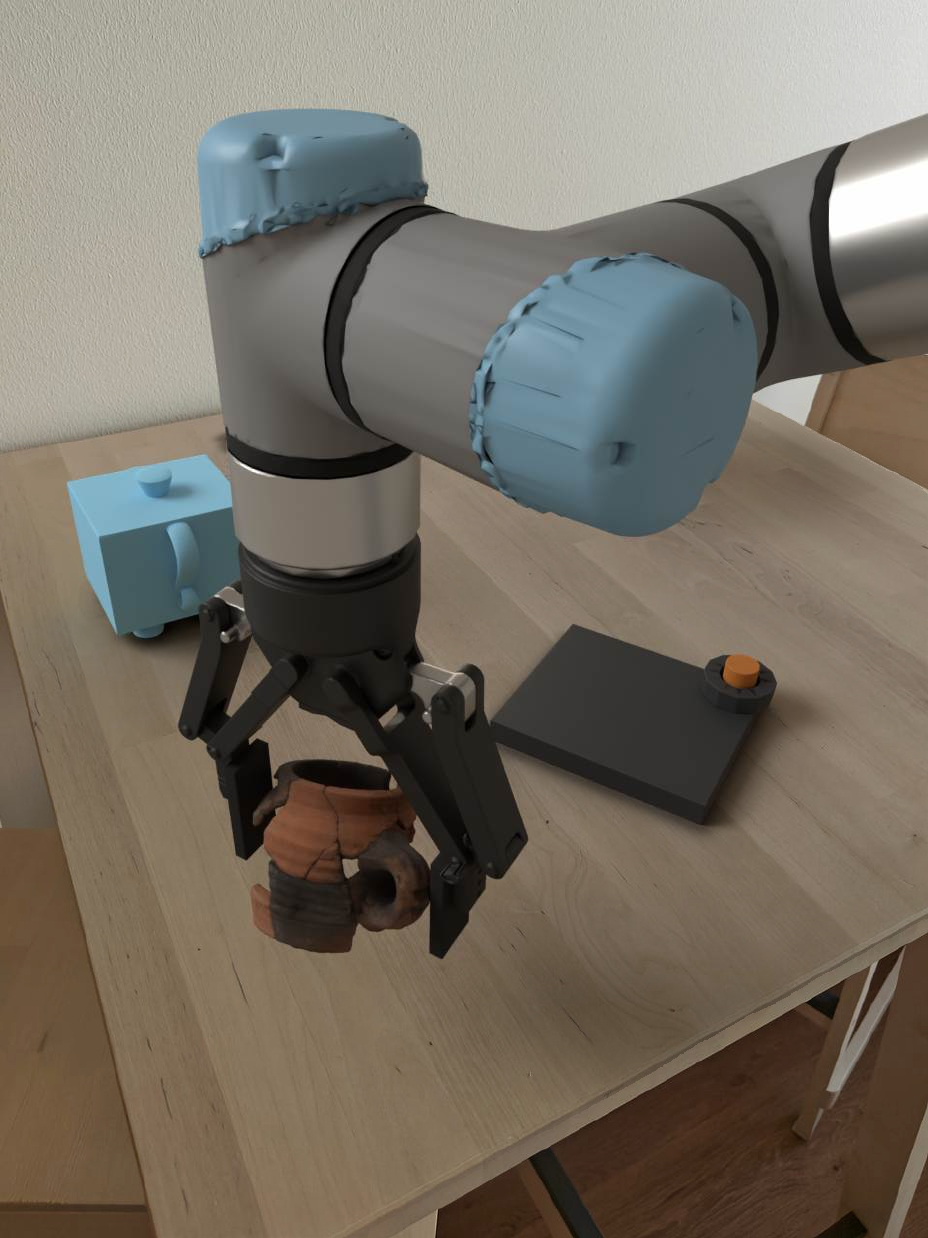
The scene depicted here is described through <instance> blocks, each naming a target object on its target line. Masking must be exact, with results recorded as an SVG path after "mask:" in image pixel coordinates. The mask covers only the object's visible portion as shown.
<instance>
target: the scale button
mask: <svg viewBox="0 0 928 1238" xmlns="http://www.w3.org/2000/svg"><path fill="white" fill-rule="evenodd" d="M731 655H732V656H730V657H728V658H727V660H726V664H725V668H724V672H723V679H724V681H725V682H726V683H727V684H729V685H731V686H733V687H736V688H745V689H750V688H752V687H754V686H755V684H756V682H757V678H758V674H759V670H760V665H759V663H758V662H757V661H758V660H757V659H755V658H754V657H752V656H750V655H746V654H742V653H741V654H739V653H737V654H731ZM756 660H757V661H756Z"/></svg>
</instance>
